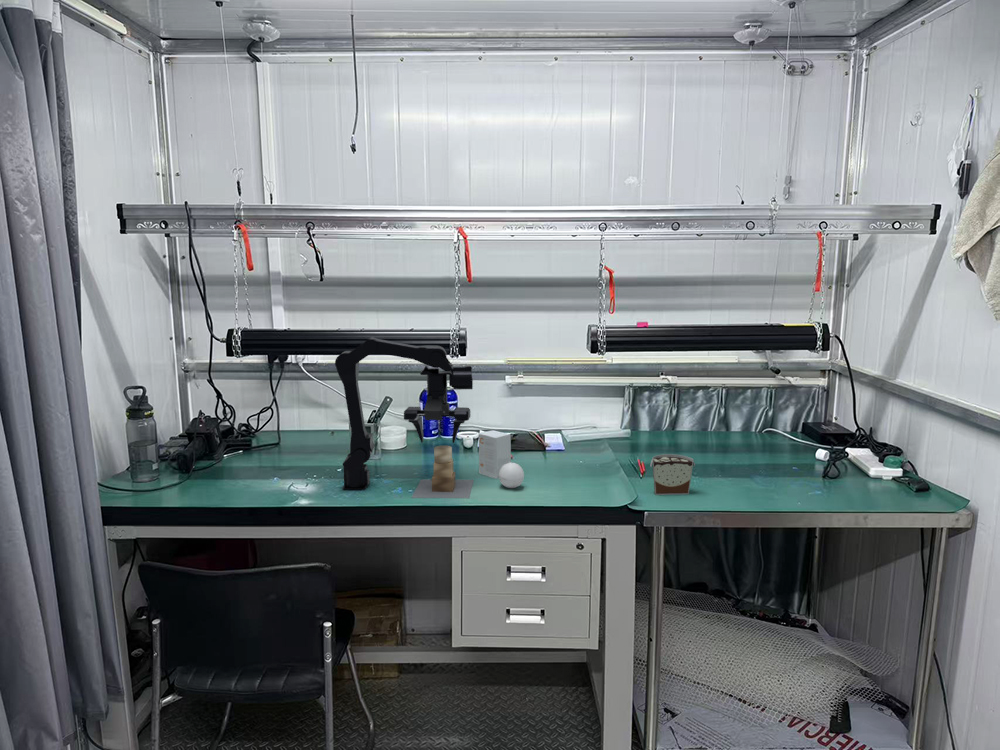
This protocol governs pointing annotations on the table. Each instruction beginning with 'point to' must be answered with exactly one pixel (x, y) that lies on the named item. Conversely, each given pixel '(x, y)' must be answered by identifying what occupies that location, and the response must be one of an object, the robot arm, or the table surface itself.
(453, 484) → the tower base
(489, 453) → the small box
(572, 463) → the table surface
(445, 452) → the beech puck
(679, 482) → the food container
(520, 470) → the white sphere
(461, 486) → the coaster
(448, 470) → the tower top
